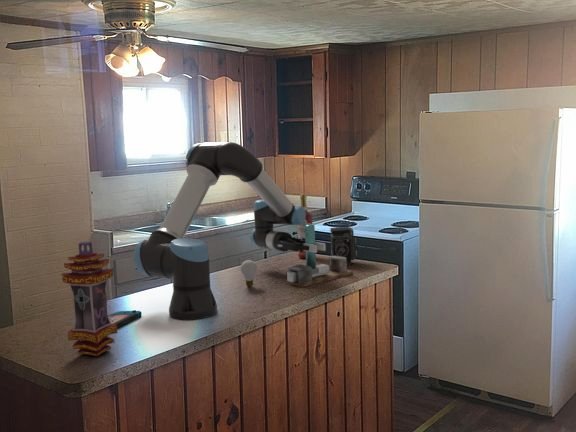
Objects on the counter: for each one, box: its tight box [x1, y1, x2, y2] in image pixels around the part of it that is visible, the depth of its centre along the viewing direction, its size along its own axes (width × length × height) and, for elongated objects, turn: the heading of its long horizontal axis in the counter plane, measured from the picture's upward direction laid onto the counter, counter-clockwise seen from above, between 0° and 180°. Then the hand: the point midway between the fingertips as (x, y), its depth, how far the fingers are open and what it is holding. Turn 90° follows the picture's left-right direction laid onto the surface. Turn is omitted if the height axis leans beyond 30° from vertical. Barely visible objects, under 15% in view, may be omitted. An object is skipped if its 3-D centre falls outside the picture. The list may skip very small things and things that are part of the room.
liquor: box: [296, 193, 313, 260], centre depth 277 cm, size 7×7×28 cm
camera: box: [329, 226, 358, 266], centre depth 262 cm, size 10×10×15 cm
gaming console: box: [108, 309, 142, 329], centre depth 191 cm, size 24×3×10 cm
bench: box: [286, 255, 354, 288], centre depth 239 cm, size 26×9×7 cm, turn 130°
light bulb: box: [240, 259, 258, 288], centre depth 230 cm, size 6×6×10 cm
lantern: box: [61, 241, 118, 357], centre depth 165 cm, size 10×9×30 cm
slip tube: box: [286, 223, 330, 282], centre depth 234 cm, size 18×4×19 cm, turn 130°
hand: (320, 248), depth 231 cm, fingers closed on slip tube, 4 cm apart
